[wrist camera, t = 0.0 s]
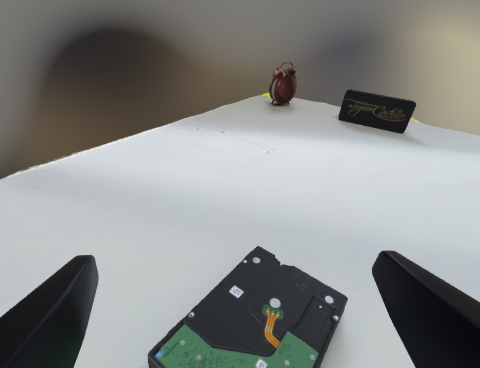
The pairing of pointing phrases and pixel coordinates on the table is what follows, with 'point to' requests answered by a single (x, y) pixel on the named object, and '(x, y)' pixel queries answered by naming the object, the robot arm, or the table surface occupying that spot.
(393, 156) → the table surface
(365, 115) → the nameplate
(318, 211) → the table surface
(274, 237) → the table surface
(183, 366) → the disk drive
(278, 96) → the alarm clock
